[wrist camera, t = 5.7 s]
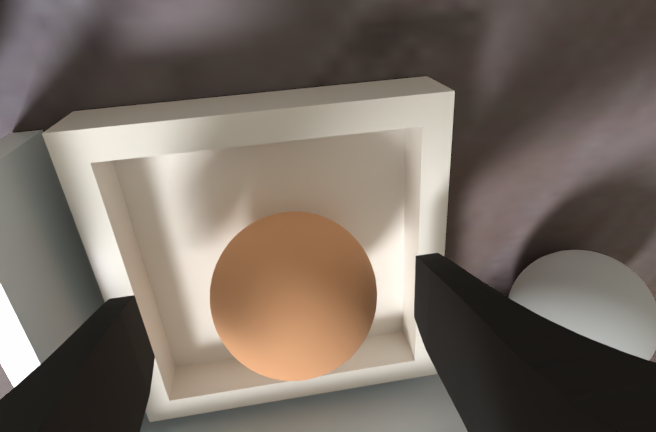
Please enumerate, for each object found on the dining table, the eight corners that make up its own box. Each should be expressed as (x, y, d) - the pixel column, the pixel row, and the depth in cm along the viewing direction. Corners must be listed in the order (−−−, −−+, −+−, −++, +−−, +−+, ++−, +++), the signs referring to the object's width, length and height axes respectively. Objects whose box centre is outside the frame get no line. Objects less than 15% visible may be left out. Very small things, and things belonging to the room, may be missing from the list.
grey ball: (584, 315, 18) (674, 405, 14) (479, 331, 18) (542, 429, 14) (608, 219, 16) (720, 293, 12) (490, 235, 16) (569, 318, 12)
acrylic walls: (505, 350, 18) (565, 437, 15) (124, 413, 17) (90, 526, 13) (547, 77, 13) (653, 111, 10) (10, 133, 12) (-93, 196, 8)
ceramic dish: (418, 334, 17) (437, 374, 15) (160, 374, 16) (149, 422, 15) (427, 76, 13) (454, 91, 11) (73, 111, 12) (41, 133, 10)
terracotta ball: (348, 293, 15) (404, 390, 12) (218, 325, 14) (235, 443, 11) (342, 174, 13) (407, 246, 10) (190, 202, 12) (198, 293, 9)
